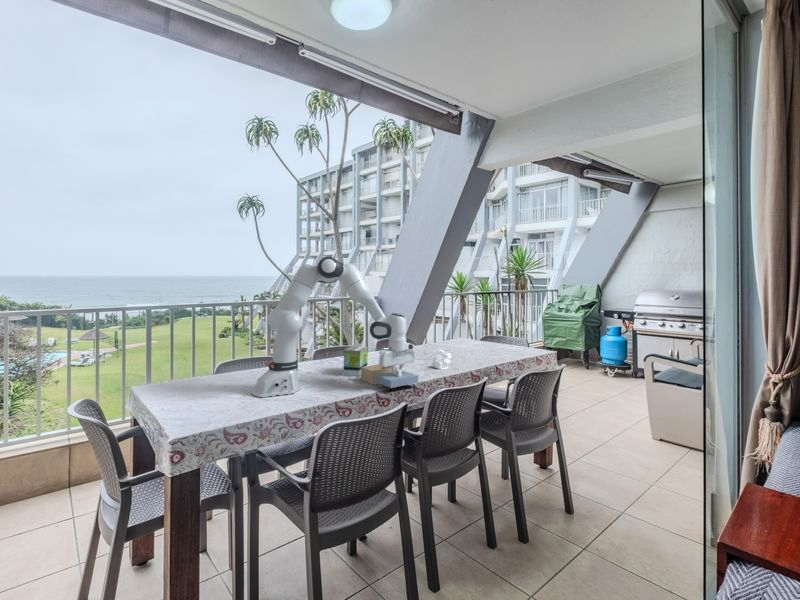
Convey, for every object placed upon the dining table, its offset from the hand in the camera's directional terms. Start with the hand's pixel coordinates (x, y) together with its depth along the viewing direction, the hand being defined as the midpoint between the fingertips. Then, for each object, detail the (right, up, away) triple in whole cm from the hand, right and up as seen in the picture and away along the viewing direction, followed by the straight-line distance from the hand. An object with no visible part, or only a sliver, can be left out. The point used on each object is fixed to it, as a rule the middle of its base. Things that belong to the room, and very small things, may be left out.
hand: (397, 373), depth 197 cm
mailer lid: (0, -5, 0) cm, 4 cm away
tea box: (-24, -5, +28) cm, 38 cm away
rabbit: (+27, -5, +42) cm, 50 cm away
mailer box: (-10, -6, +14) cm, 18 cm away
